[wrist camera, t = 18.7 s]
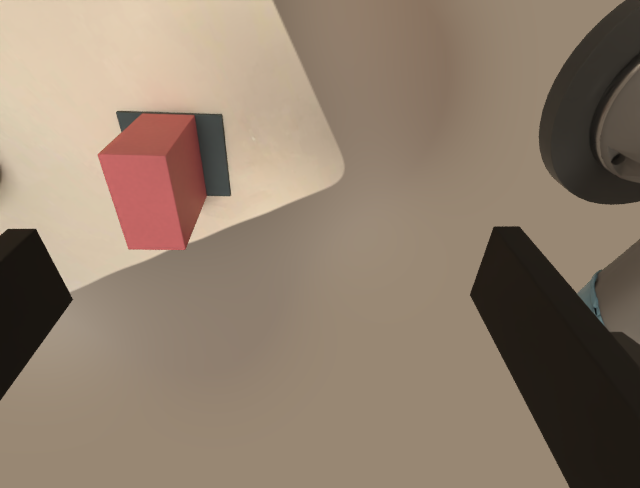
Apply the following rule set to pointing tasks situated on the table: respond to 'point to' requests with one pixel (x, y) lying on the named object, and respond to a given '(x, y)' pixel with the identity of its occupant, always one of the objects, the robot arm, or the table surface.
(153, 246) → the red rectangular block
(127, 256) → the table surface
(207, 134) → the mat
